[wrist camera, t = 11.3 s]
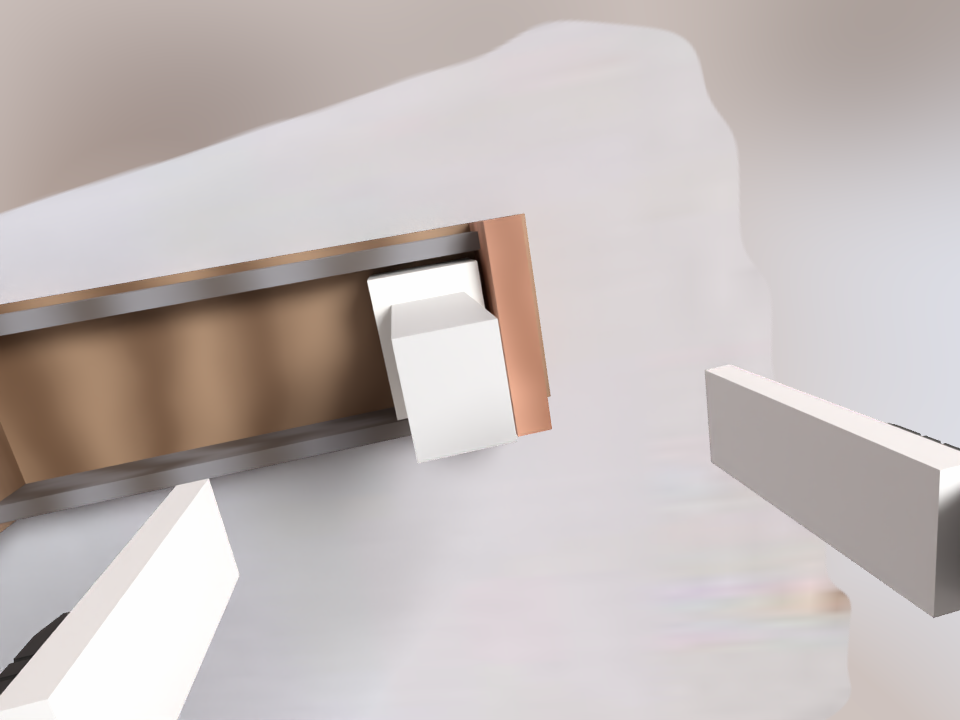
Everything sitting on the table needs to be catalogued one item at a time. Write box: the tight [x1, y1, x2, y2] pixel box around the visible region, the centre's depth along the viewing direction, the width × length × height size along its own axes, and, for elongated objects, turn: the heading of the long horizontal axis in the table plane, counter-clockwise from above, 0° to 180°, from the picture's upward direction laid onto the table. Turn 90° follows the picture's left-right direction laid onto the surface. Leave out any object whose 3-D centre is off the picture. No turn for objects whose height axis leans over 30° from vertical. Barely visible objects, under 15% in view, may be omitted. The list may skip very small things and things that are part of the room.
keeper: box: [367, 258, 517, 463], centre depth 28 cm, size 6×8×14 cm
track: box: [0, 214, 552, 533], centre depth 31 cm, size 36×12×7 cm, turn 100°
